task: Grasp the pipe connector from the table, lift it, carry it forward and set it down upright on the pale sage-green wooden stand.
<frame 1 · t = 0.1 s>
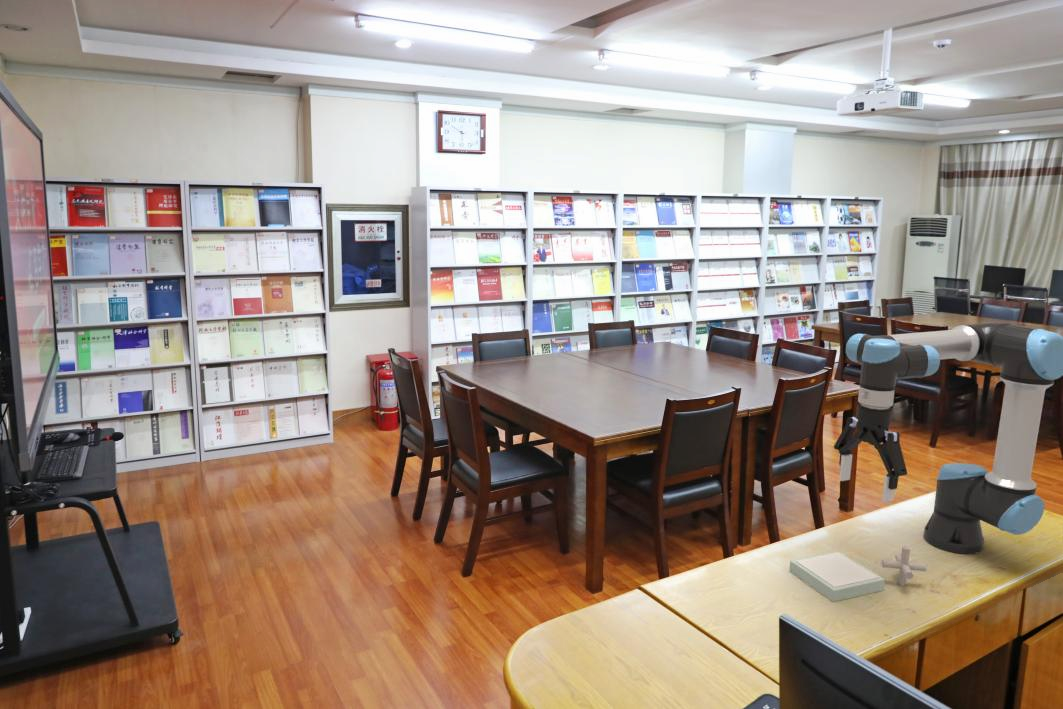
hand: (865, 490, 179), 28 cm above the table, fingers open, 13 cm apart
pipe connector: (901, 584, 191), on the table
stand: (835, 580, 192), on the table
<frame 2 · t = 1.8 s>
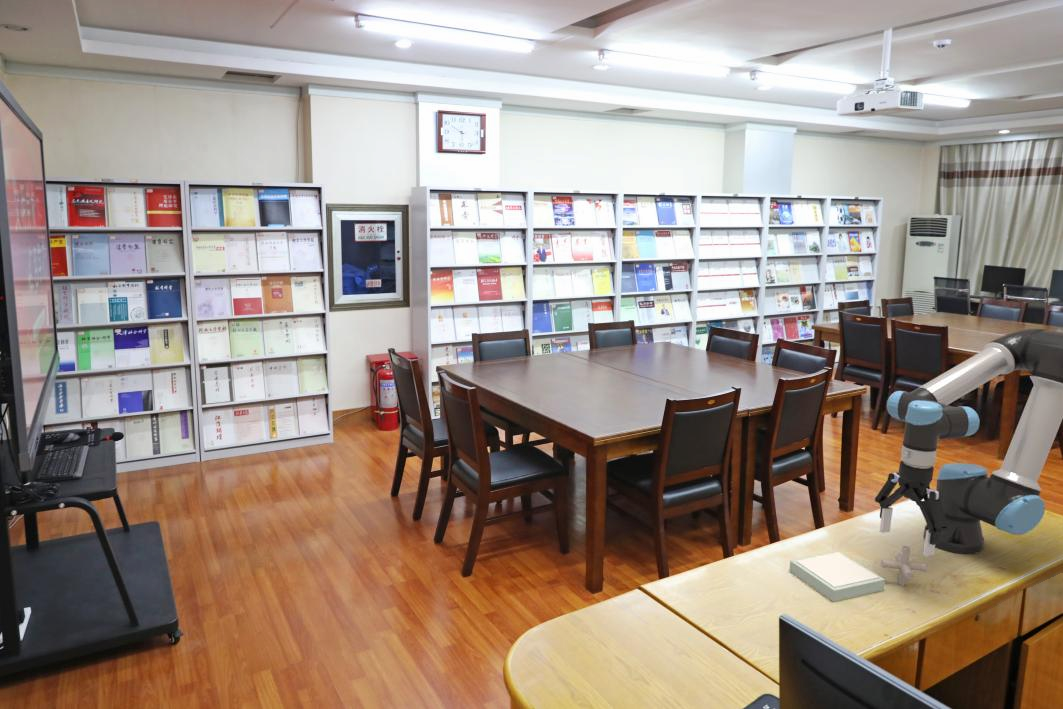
hand: (905, 543, 188), 11 cm above the table, fingers open, 13 cm apart
nothing on the table moved.
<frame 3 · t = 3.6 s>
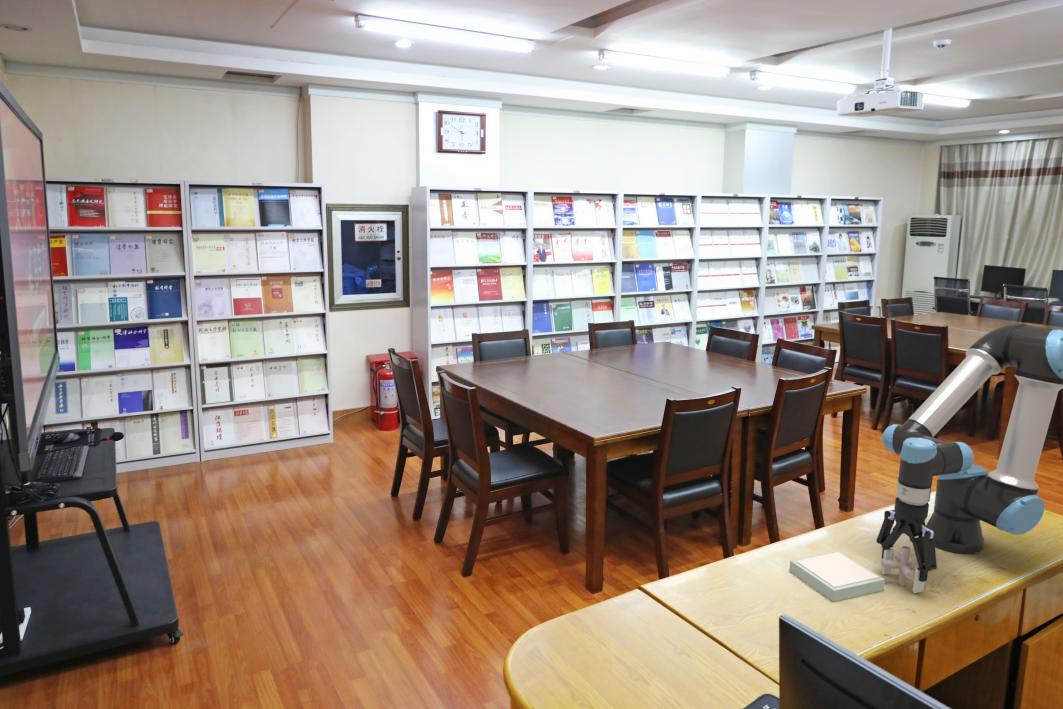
hand: (901, 581, 190), 1 cm above the table, fingers closed on pipe connector, 9 cm apart
pipe connector: (901, 584, 191), on the table, touching gripper
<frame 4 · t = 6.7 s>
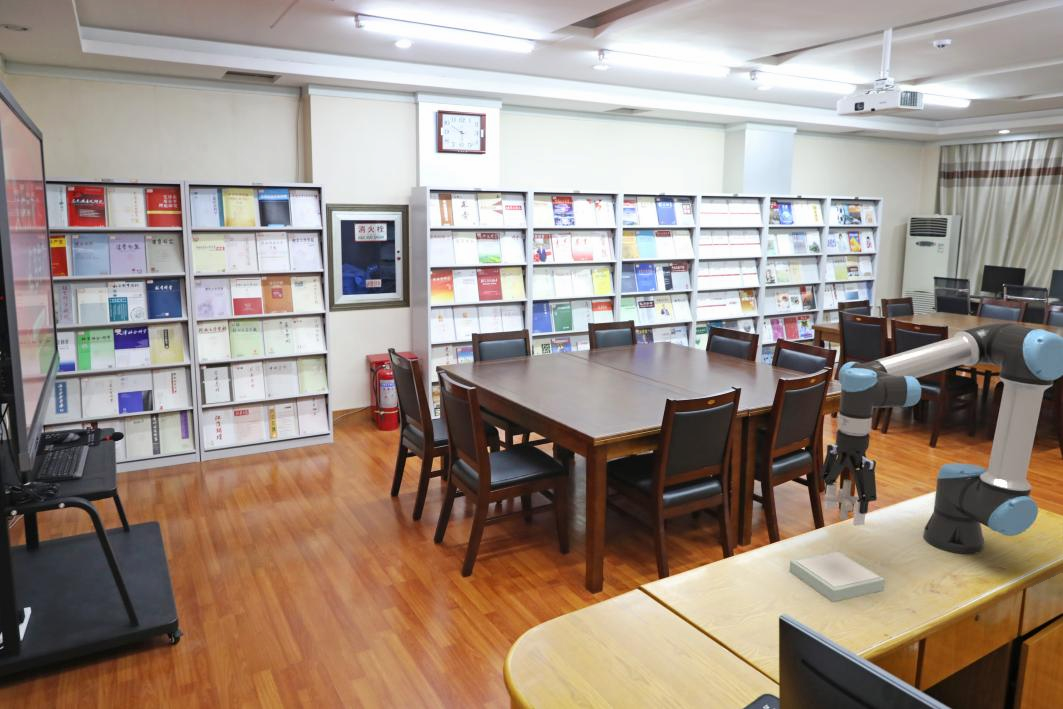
hand: (843, 516, 188), 18 cm above the table, fingers closed on pipe connector, 9 cm apart
pipe connector: (843, 518, 188), point 17 cm above the table, touching gripper
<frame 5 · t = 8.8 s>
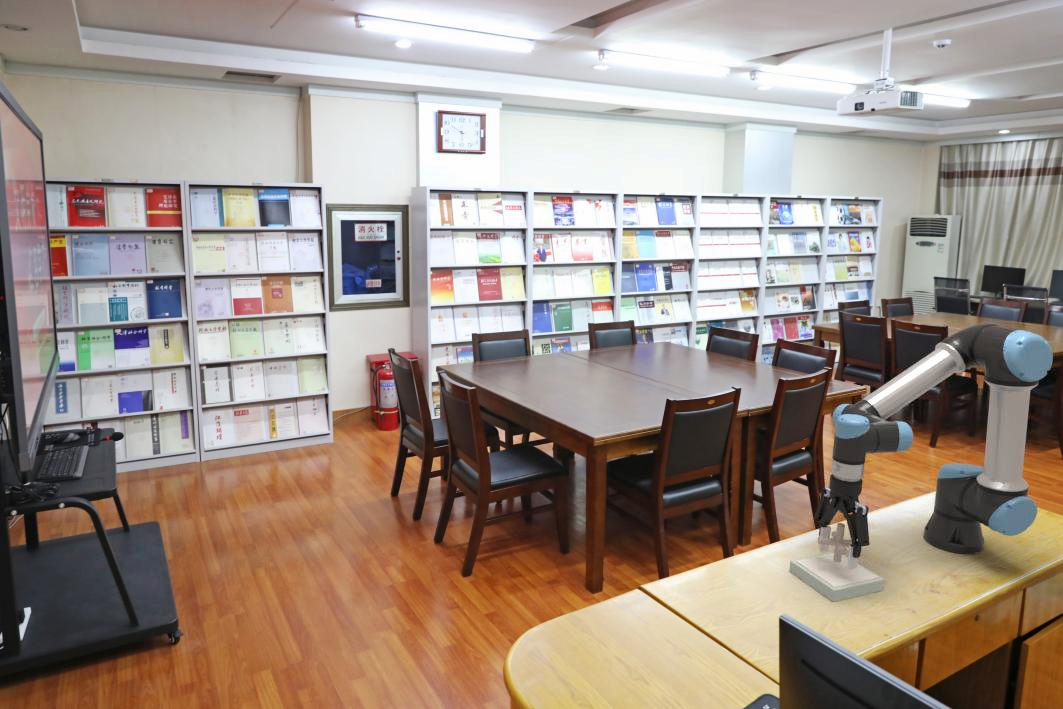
hand: (837, 558, 190), 6 cm above the table, fingers closed on pipe connector, 9 cm apart
pipe connector: (837, 561, 191), point 5 cm above the table, touching gripper
when the fingers open (5 cm above the table, at t = 10.0 s): pipe connector drops 1 cm, resting on stand.
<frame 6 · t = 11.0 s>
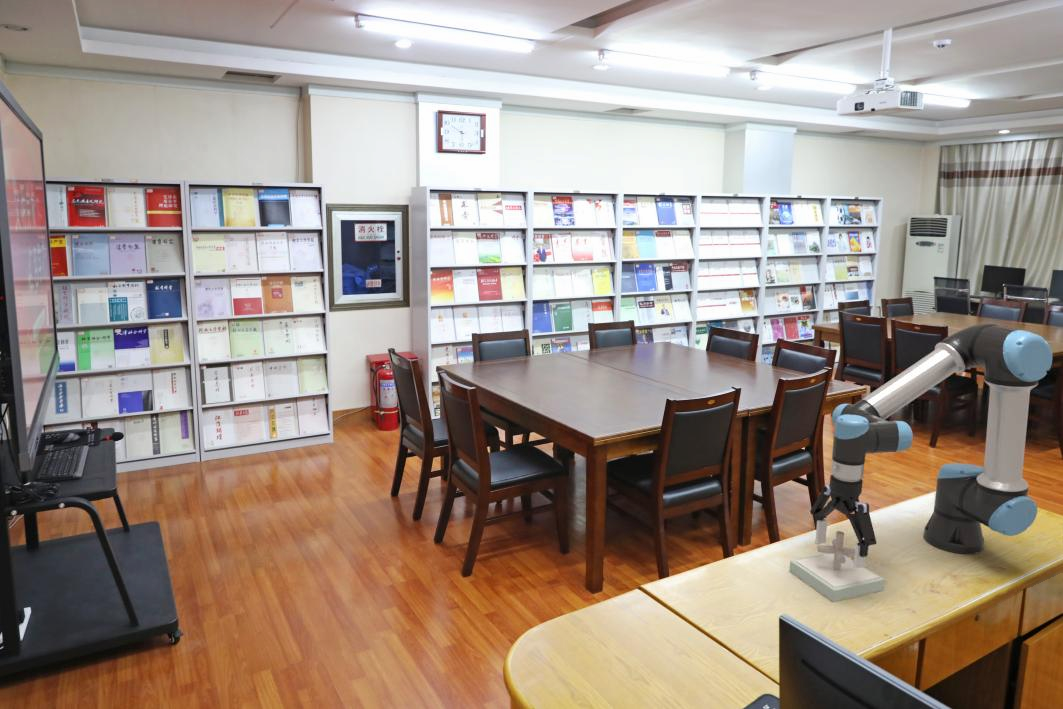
hand: (839, 554, 190), 7 cm above the table, fingers open, 13 cm apart
pipe connector: (836, 569, 191), point 3 cm above the table, touching stand
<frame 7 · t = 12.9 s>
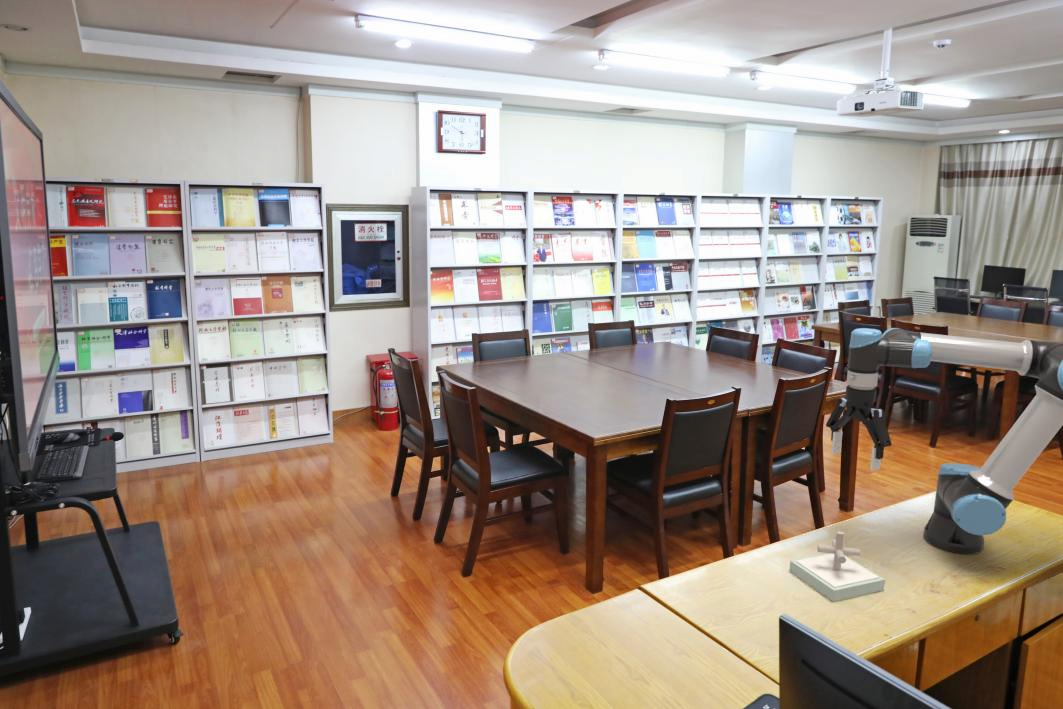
hand: (855, 461, 204), 26 cm above the table, fingers open, 13 cm apart
nothing on the table moved.
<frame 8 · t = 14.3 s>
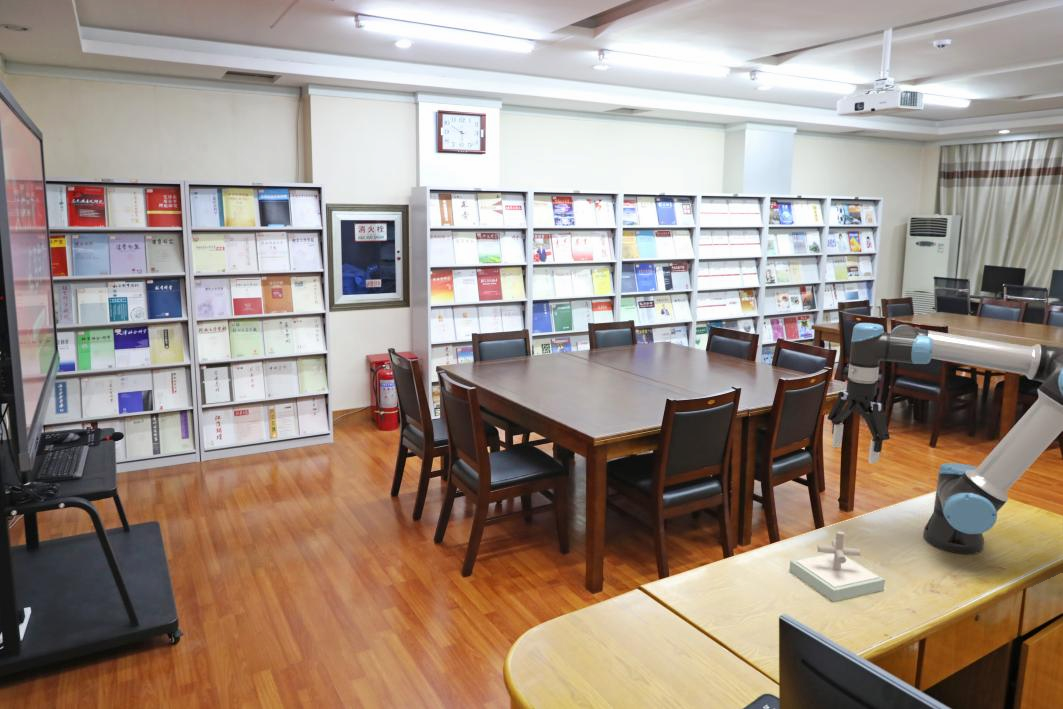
hand: (854, 454, 207), 27 cm above the table, fingers open, 13 cm apart
nothing on the table moved.
at the end: pipe connector inside the target area on the stand (0.0 cm from its centre), point 3.1 cm above the stand's base; pipe connector tilted 0°; the gripper is holding nothing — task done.
